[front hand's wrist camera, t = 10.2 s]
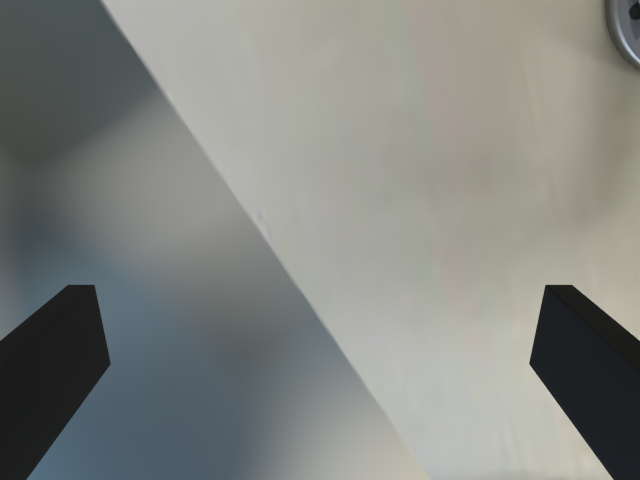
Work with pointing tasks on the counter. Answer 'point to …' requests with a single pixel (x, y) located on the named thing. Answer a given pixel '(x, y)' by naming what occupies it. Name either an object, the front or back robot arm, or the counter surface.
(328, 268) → the counter surface
